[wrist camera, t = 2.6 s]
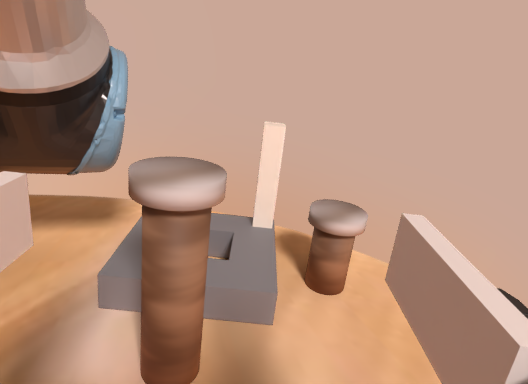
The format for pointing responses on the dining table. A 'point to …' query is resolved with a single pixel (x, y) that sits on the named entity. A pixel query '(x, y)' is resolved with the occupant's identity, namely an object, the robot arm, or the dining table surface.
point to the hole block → (218, 254)
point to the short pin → (332, 243)
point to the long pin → (174, 261)
